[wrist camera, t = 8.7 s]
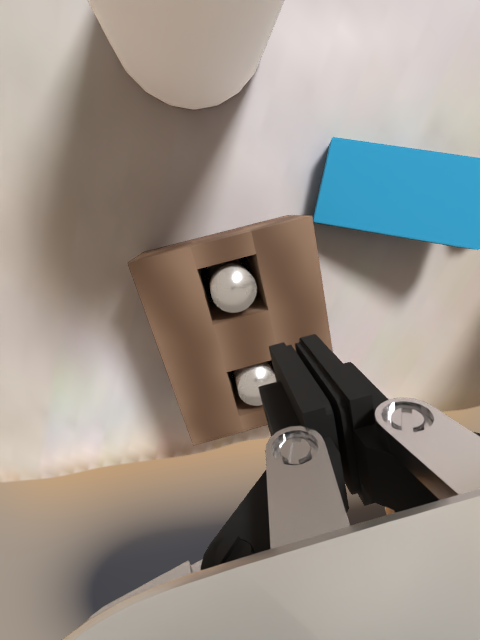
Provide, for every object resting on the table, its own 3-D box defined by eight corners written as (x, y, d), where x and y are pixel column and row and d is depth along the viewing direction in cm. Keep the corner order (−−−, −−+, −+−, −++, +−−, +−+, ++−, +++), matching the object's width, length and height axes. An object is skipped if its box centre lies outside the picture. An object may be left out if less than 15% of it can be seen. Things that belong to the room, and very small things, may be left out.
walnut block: (287, 215, 30) (312, 215, 23) (314, 369, 36) (340, 404, 29) (143, 252, 29) (127, 263, 23) (194, 402, 35) (193, 445, 29)
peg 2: (259, 335, 34) (274, 364, 27) (266, 364, 35) (282, 399, 28) (226, 343, 33) (233, 375, 27) (234, 373, 35) (243, 410, 28)
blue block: (309, 223, 35) (478, 252, 33) (313, 221, 29) (524, 257, 27) (324, 155, 33) (504, 182, 31) (332, 137, 27) (562, 169, 25)
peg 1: (239, 251, 30) (251, 262, 24) (248, 287, 32) (261, 306, 25) (203, 261, 30) (205, 274, 24) (213, 296, 32) (217, 317, 25)
